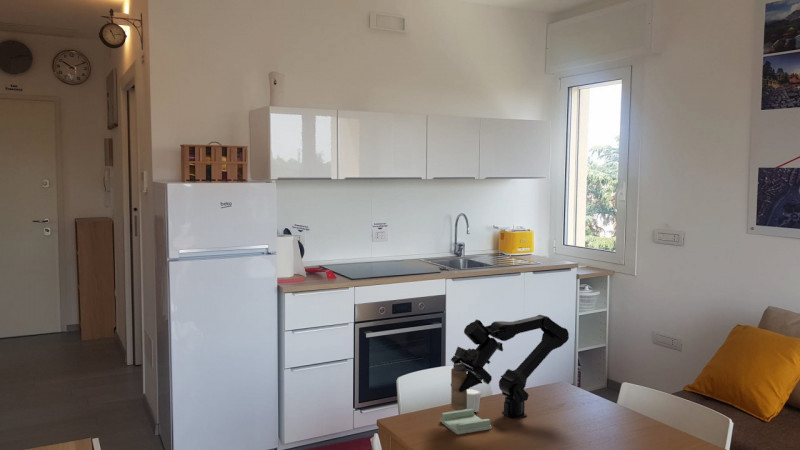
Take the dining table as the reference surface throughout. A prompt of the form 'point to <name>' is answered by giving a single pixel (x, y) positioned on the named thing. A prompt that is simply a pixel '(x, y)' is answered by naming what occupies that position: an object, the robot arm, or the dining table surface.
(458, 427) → the tray
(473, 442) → the dining table surface
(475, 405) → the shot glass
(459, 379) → the pepper mill
